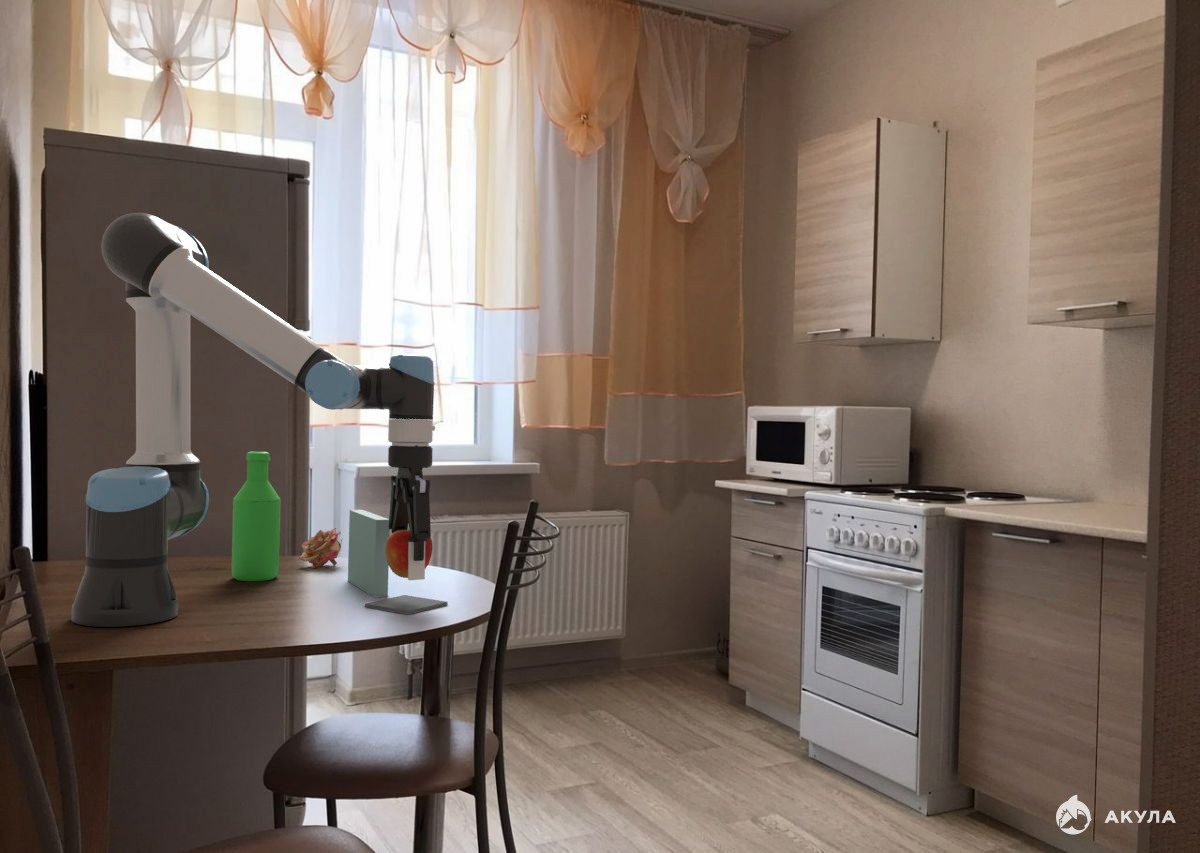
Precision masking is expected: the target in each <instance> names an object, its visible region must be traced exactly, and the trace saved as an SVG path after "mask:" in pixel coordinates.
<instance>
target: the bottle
mask: <svg viewBox="0 0 1200 853" xmlns="http://www.w3.org/2000/svg"><path fill="white" fill-rule="evenodd" d="M245 460H246V461H247V464H246V466H247V469H246V470H247V471H246V481H245V482H244V484H243V485H242V487H241V488H240V490H239V491H238V492H237V494H236V495H235V496H234V497H233V500H232V535H231V536H232V537H231V538H232V540H231V544H232V545H231V576H232V577H233V578H234V579H235V580H236V581H241V582H266V581H271V580H273V579H275V578H276V577H277V576H278V575H279V574H280V573H279V569H280V543H281V541H280V540H281V538H280V537H281V536H280V535H281V505H282V504H281V501H282V500H281V498H280V496H279V494H277V492H276V490H275V489H274V486H272V484H271V483H270V481H269V461H271V460H272V459H271V457H270V452H267V451H262V450H261V451H257V450H256V451H255V450H254V451H249V452H247V453H246V458H245Z"/></svg>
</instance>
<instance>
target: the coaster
mask: <svg viewBox="0 0 1200 853" xmlns="http://www.w3.org/2000/svg"><path fill="white" fill-rule="evenodd" d="M446 606H448V601H445V600H440V599H432V598H425V597H419V596H413V595H406V594H403V595H399V596H393V597H389V598H385V599H379V600H375V601H370V602H366V603H365V602H364V608H369V609H374V610H379V611H380V610H381V611H387V612H390V613H391V612H393V613H399V614H402V615H403V614H404V615H413V614H417V613H420V612H424V611H430V610H433V609H438V608H441V607H446Z"/></svg>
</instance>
